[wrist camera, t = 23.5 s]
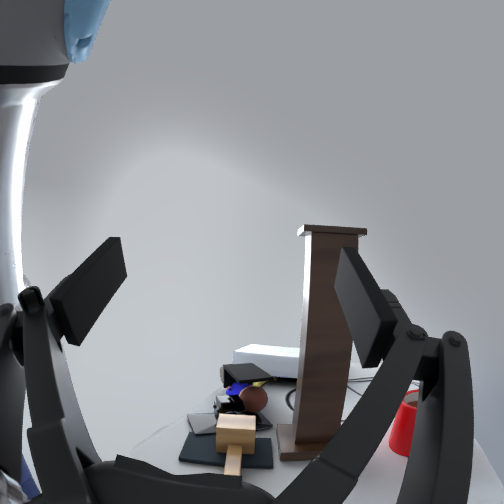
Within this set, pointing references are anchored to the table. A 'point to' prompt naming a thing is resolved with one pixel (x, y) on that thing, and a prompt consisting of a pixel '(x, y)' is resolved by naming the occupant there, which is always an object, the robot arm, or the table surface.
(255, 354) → the skincare box
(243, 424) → the wooden toy mallet
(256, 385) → the banana
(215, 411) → the black angular block
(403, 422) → the mug
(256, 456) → the mat
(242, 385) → the figurine character
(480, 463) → the table surface
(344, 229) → the stand
